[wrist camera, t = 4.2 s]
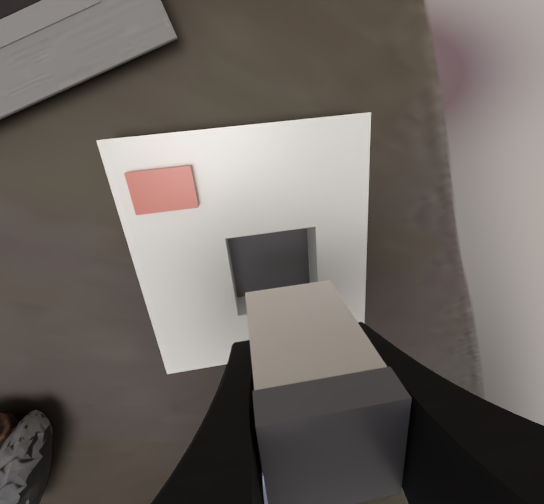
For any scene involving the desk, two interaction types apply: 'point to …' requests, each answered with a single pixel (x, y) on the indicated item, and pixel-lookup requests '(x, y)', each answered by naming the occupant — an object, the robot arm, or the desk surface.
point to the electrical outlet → (71, 43)
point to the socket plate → (240, 222)
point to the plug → (323, 400)
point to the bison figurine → (24, 457)
